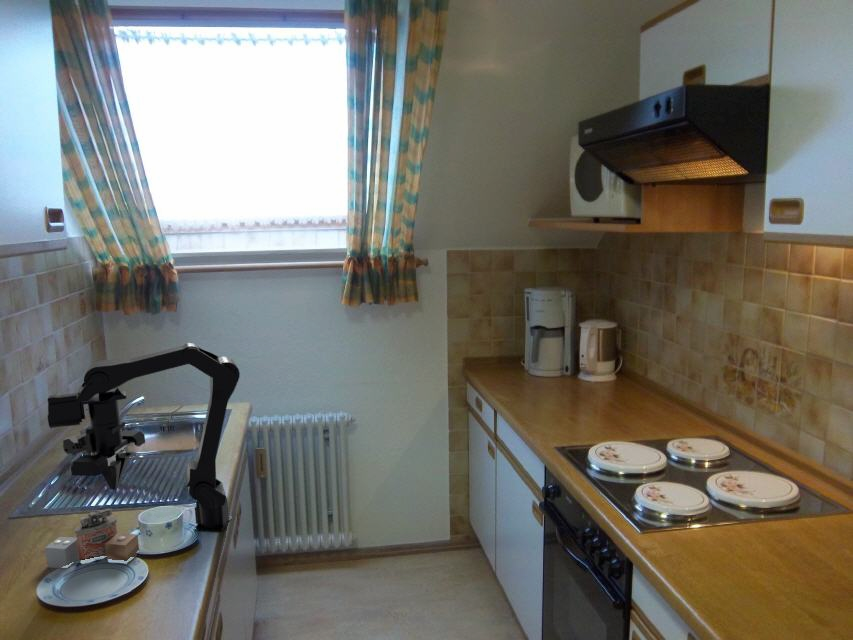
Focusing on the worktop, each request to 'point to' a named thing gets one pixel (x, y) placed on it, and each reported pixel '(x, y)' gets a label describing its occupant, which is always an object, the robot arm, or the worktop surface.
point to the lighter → (95, 534)
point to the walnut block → (122, 546)
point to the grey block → (62, 552)
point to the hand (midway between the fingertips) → (114, 489)
